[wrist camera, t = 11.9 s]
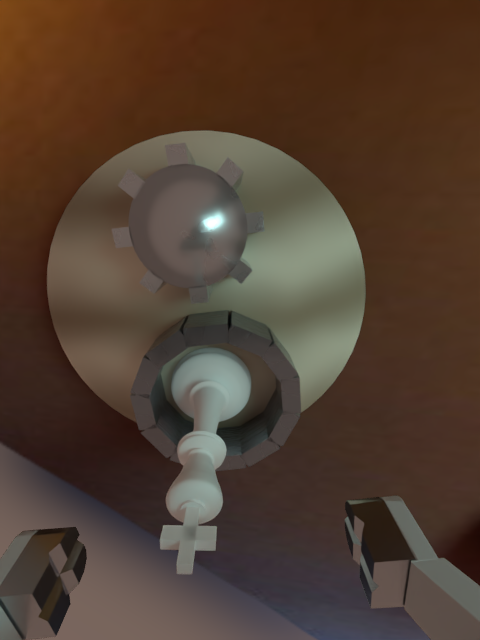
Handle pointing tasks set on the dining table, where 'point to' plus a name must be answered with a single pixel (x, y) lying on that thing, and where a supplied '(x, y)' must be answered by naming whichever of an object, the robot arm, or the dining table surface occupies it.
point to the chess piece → (202, 447)
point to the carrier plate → (228, 294)
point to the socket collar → (241, 441)
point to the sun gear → (188, 224)
